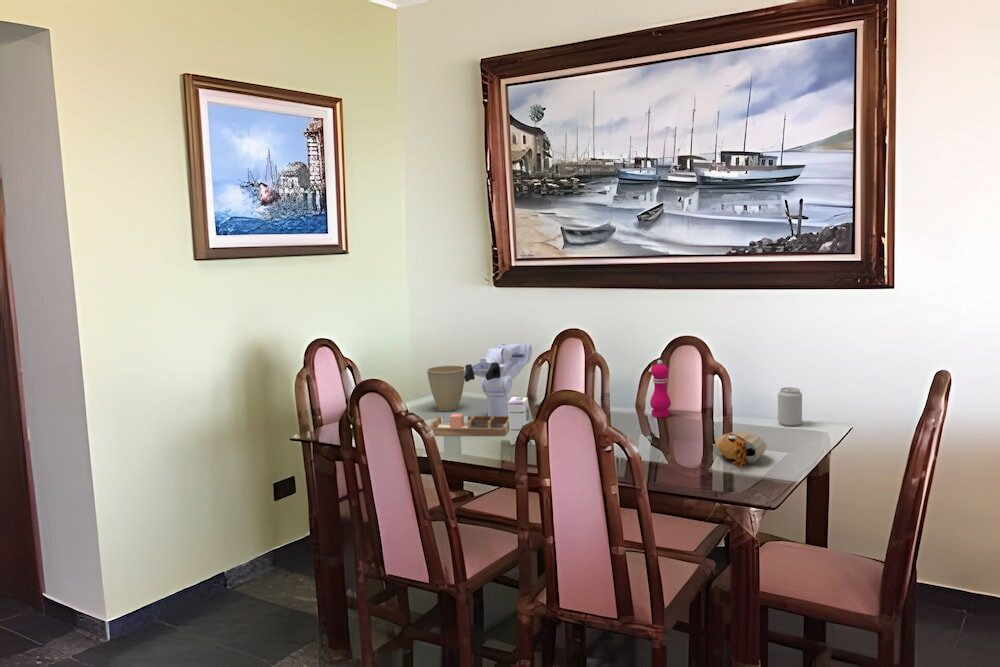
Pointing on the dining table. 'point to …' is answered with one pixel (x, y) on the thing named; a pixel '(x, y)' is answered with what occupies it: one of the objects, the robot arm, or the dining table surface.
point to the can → (790, 406)
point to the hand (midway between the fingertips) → (476, 378)
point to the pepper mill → (660, 391)
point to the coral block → (456, 420)
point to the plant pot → (446, 386)
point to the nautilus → (741, 447)
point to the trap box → (473, 426)
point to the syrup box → (517, 415)
